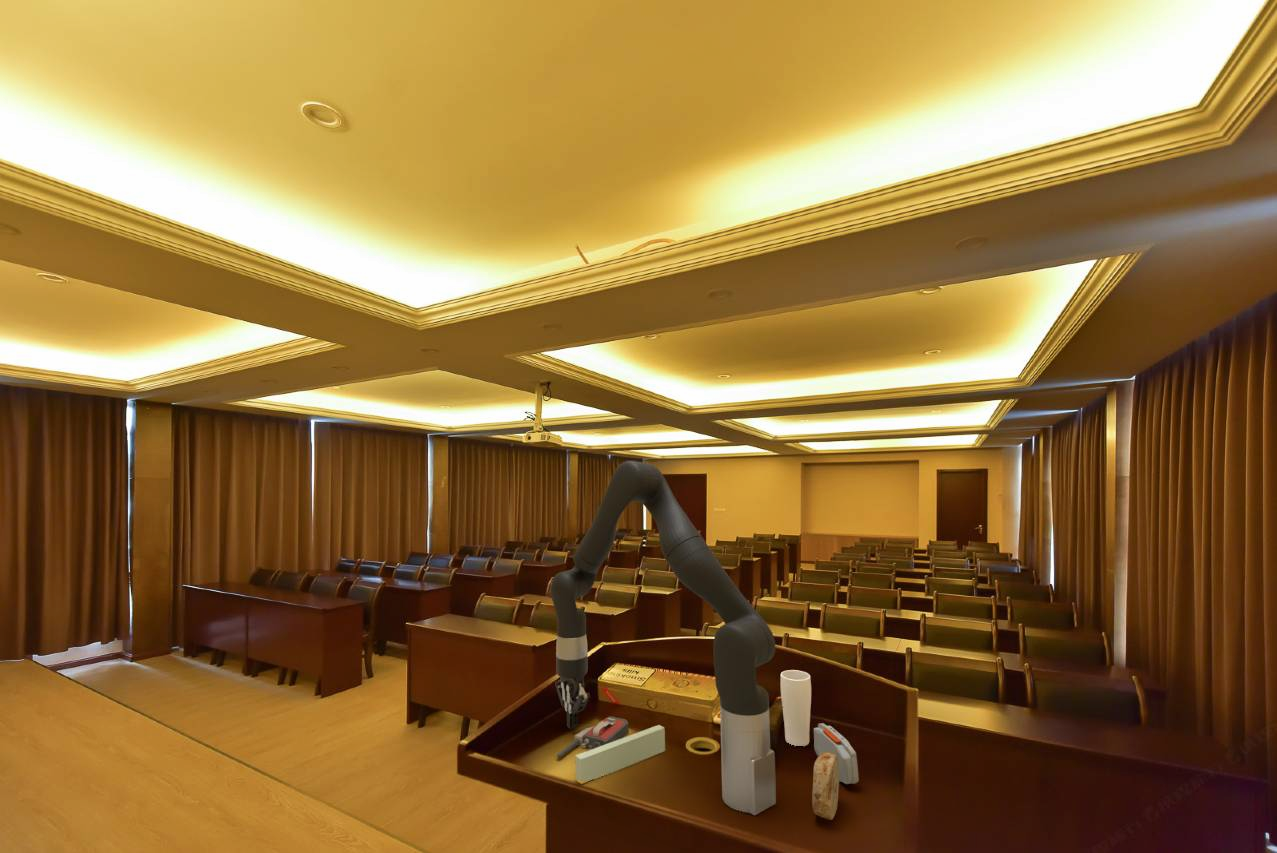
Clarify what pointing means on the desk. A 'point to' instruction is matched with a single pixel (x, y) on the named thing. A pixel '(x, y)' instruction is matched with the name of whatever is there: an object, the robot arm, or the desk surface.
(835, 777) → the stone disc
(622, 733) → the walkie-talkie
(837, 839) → the desk surface
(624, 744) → the bar
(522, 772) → the desk surface
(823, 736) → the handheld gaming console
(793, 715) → the drinking glass
